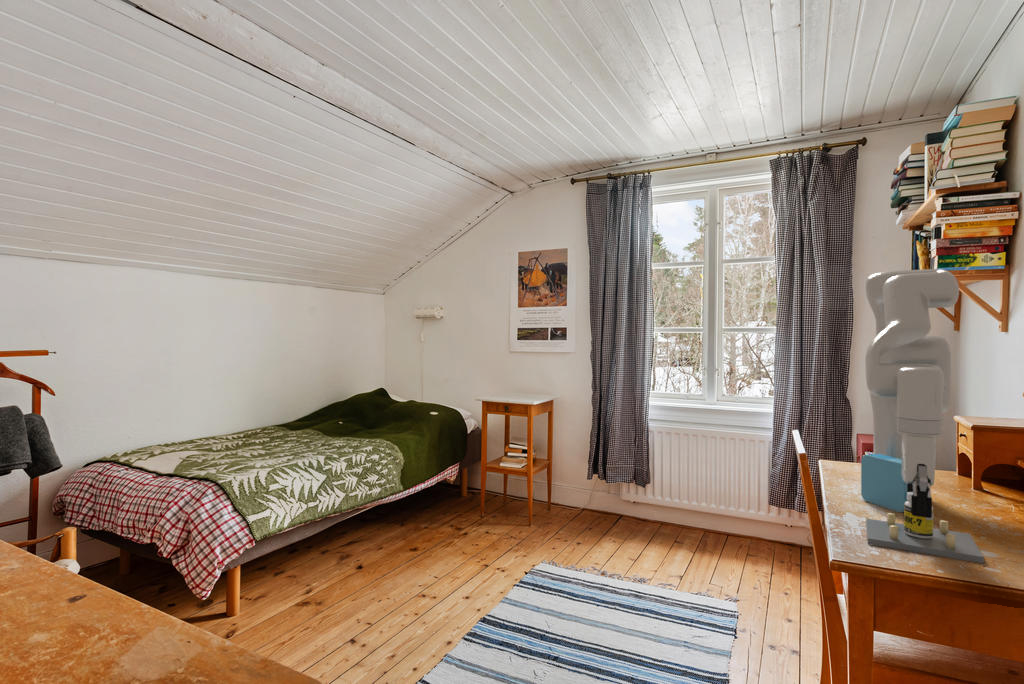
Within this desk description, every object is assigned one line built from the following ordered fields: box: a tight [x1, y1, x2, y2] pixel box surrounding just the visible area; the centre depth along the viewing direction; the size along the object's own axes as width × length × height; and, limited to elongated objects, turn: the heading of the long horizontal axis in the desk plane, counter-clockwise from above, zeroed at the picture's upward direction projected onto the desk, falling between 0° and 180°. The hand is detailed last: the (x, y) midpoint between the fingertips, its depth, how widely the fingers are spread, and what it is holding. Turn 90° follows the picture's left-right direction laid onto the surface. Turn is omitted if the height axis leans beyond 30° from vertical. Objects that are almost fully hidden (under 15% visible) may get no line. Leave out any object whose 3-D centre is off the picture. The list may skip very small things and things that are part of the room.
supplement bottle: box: [903, 492, 934, 539], centre depth 111 cm, size 5×5×8 cm
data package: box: [860, 453, 909, 513], centre depth 134 cm, size 12×4×12 cm, turn 13°
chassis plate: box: [865, 512, 985, 564], centre depth 111 cm, size 14×18×4 cm
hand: (918, 509), depth 111 cm, fingers open, 9 cm apart
